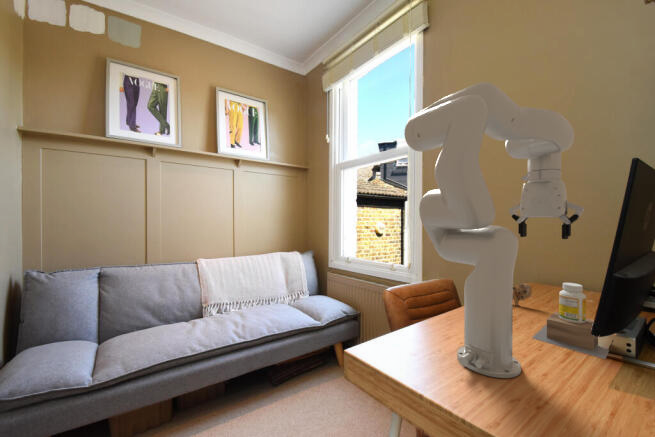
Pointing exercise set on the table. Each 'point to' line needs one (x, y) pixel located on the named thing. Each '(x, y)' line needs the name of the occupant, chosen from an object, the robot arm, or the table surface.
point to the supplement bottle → (572, 303)
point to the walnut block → (571, 332)
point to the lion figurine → (521, 293)
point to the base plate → (595, 352)
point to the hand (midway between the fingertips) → (543, 237)
